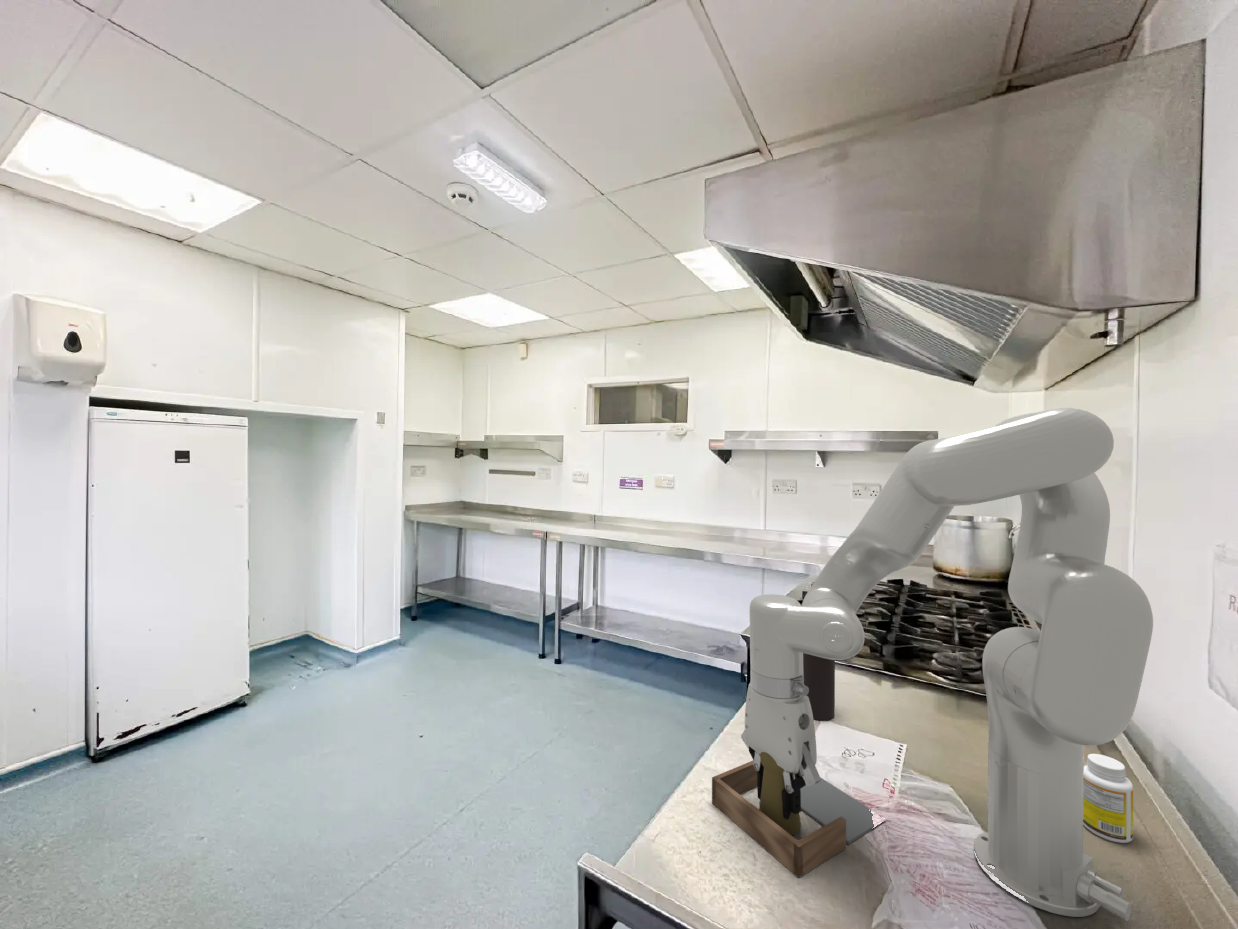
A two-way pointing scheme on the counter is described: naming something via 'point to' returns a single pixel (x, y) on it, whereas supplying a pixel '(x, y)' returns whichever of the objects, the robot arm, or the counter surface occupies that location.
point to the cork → (775, 795)
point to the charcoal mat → (836, 808)
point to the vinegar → (820, 685)
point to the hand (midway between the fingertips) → (778, 804)
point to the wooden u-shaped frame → (769, 834)
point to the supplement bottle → (1107, 799)
